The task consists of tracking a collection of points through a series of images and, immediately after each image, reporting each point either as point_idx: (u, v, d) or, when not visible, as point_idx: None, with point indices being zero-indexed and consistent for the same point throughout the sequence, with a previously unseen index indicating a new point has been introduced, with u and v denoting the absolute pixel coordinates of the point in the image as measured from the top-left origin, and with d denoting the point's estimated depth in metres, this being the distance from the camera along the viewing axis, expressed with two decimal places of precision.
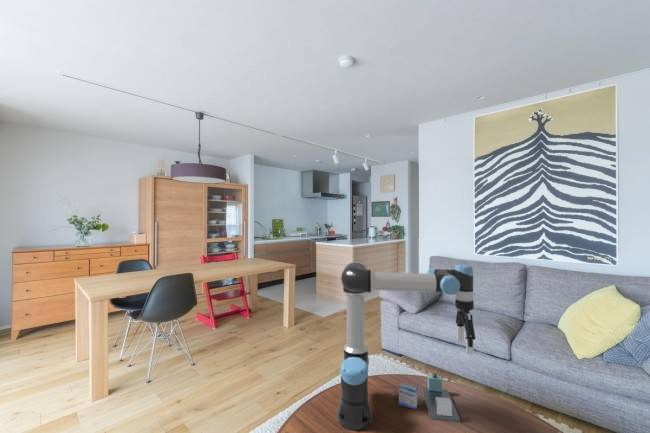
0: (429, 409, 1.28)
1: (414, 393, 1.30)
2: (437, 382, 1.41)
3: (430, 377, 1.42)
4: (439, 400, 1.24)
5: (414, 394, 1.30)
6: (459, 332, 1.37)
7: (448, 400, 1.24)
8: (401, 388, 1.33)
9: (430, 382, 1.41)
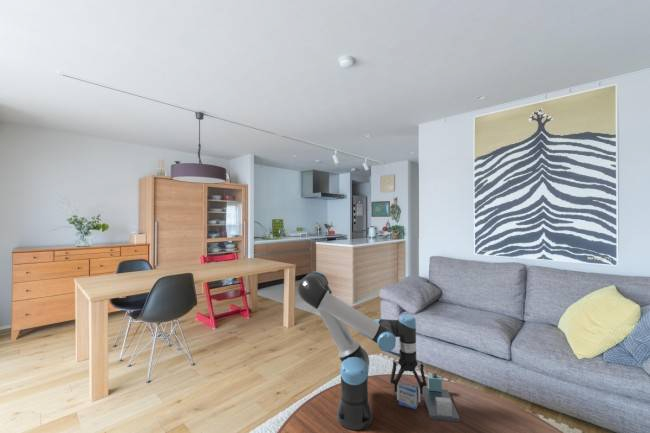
0: (429, 409, 1.28)
1: (414, 393, 1.30)
2: (437, 382, 1.41)
3: (430, 377, 1.42)
4: (439, 400, 1.24)
5: (414, 394, 1.30)
6: None
7: (448, 400, 1.24)
8: (401, 388, 1.33)
9: (430, 382, 1.41)
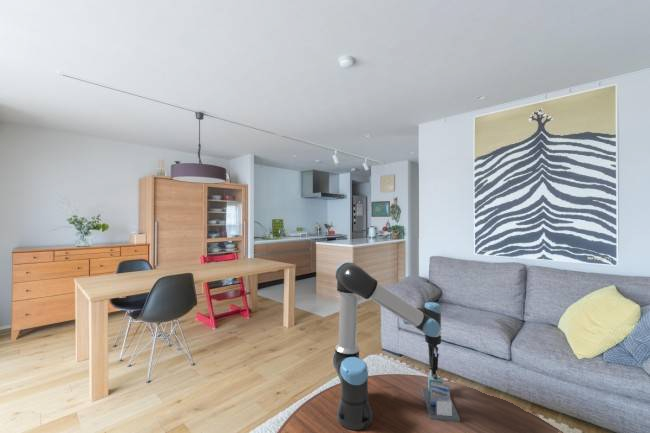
0: (429, 409, 1.28)
1: (447, 392, 1.28)
2: None
3: (430, 378, 1.41)
4: (439, 400, 1.24)
5: (447, 393, 1.28)
6: None
7: (448, 400, 1.24)
8: (433, 387, 1.30)
9: (430, 383, 1.40)
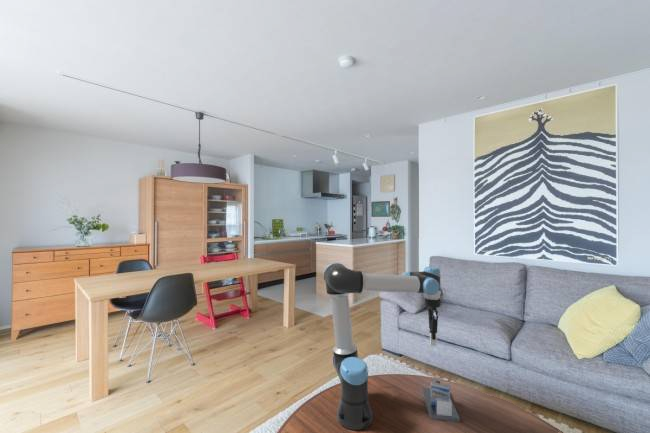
0: (429, 409, 1.28)
1: (447, 393, 1.28)
2: None
3: None
4: (439, 400, 1.24)
5: (447, 394, 1.28)
6: None
7: (448, 400, 1.24)
8: (434, 387, 1.30)
9: None
